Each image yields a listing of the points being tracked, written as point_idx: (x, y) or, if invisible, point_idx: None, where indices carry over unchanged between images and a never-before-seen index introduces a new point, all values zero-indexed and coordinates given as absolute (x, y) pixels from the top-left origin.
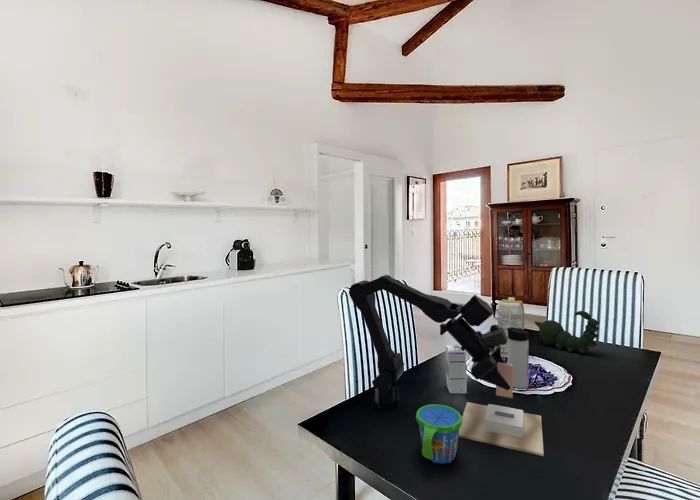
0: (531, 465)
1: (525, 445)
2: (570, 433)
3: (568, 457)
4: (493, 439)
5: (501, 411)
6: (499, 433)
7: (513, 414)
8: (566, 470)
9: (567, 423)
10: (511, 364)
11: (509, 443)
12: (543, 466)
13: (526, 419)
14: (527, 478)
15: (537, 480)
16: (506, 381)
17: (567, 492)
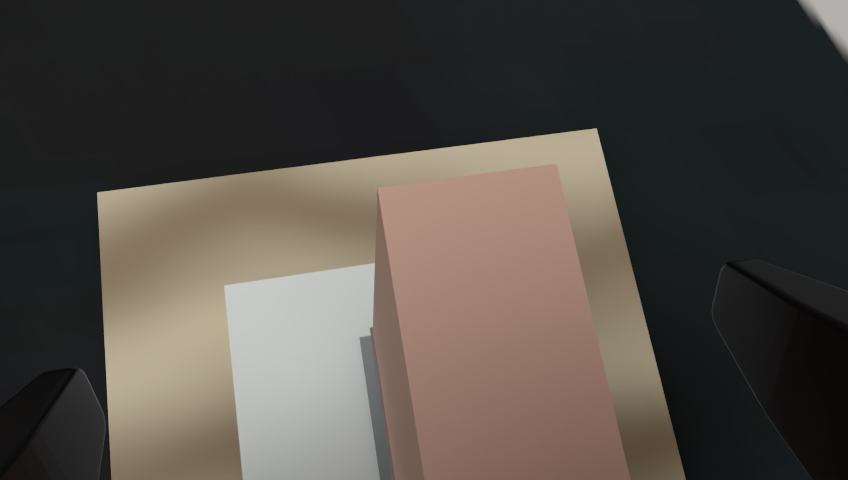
0: (717, 182)
1: (573, 233)
2: (235, 19)
3: (515, 22)
4: (637, 439)
5: (353, 458)
6: None
7: (363, 343)
8: (641, 27)
9: (102, 38)
10: (429, 219)
11: (614, 328)
12: (683, 127)
13: (212, 281)
14: (837, 185)
15: (817, 141)
16: (823, 314)
17: (805, 19)
